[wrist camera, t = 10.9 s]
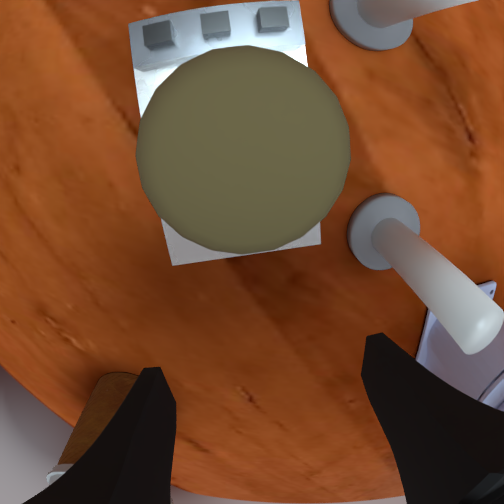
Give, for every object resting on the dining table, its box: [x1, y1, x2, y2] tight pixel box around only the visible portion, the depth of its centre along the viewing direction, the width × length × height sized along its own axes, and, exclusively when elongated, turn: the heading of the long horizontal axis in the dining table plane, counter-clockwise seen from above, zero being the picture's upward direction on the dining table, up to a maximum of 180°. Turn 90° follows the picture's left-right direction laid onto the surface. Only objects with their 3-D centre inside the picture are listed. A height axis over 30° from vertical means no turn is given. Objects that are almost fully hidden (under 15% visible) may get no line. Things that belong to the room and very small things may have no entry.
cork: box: [136, 45, 351, 255], centre depth 11 cm, size 6×6×11 cm
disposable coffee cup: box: [47, 372, 173, 504], centre depth 20 cm, size 10×10×12 cm
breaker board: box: [129, 1, 321, 266], centre depth 15 cm, size 14×9×4 cm, turn 7°
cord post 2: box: [347, 193, 504, 355], centre depth 15 cm, size 5×5×11 cm
